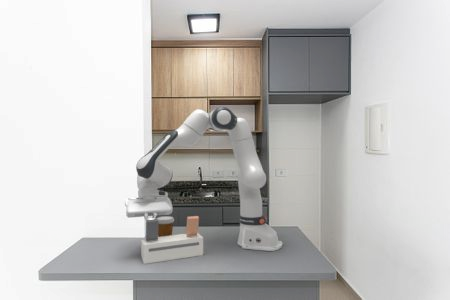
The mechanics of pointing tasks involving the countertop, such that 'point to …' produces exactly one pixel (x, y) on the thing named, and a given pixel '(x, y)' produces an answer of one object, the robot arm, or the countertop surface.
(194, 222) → the rocker terracotta
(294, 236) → the countertop surface
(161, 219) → the disposable coffee cup
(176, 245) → the switch box
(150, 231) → the rocker charcoal
